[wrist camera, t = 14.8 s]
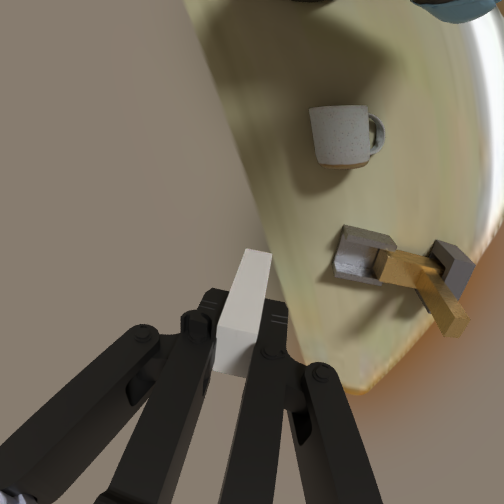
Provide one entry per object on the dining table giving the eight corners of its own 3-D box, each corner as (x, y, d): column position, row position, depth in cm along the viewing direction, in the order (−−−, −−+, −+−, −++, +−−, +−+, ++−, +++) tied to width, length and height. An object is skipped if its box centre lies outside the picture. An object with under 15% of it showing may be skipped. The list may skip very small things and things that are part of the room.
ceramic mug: (314, 164, 38) (321, 173, 31) (306, 109, 34) (310, 105, 28) (384, 159, 36) (404, 167, 29) (378, 104, 33) (397, 101, 26)
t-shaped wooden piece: (381, 245, 40) (416, 307, 26) (447, 262, 39) (492, 319, 25) (372, 268, 42) (401, 335, 28) (438, 282, 41) (477, 342, 27)
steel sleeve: (343, 224, 41) (348, 234, 37) (389, 235, 41) (397, 246, 37) (331, 264, 44) (334, 276, 41) (375, 273, 44) (381, 286, 40)
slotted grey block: (435, 239, 39) (454, 259, 33) (456, 245, 39) (475, 265, 33) (414, 289, 44) (428, 313, 38) (434, 293, 44) (449, 316, 37)
